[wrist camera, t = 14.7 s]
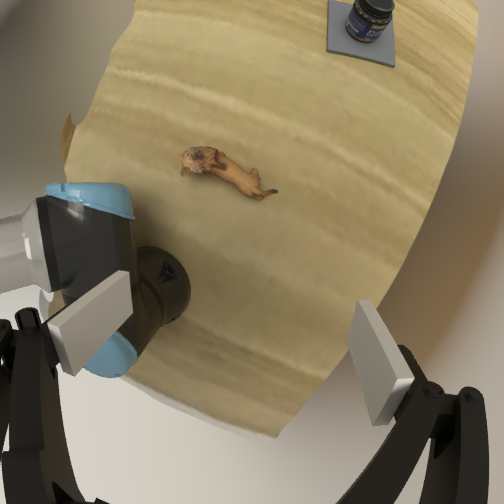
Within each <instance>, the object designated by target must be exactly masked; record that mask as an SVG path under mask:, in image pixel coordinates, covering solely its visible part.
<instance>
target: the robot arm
mask: <svg viewBox="0 0 504 504" xmlns="http://www.w3.org/2000/svg"><path fill="white" fill-rule="evenodd" d="M45 194H46V196H44V197H39V198H34V199H33V200H32V201H31V203H30V204H29V205H28V207H27V208H26V210H25V211H24V212H23V213H22V214H19V215H14V216H10V217H6V218H1V219H0V294H1V293H4V292H7V291H11V290H14V289H18V288H21V287H25V286H28V285H32V284H35V285H38V286H40V287H41V288H42V289H44V290H45V291H47V292H48V293H51V292H54V291H58V290H61V291H62V296H63V300H64V303H65V307H63V308H62V309H61V311H60V310H59V311H58V312H57V313H56V314H54V315H53V316H51V317H50V318H49V319H47V320H46V321H45V322H44V323H42V324H41V320H40V317H39V313H38V310H37V309H36V308H32V307H30V308H29V307H27V308H23V309H21V310H19V311H18V312H17V313H16V314H15V319H16V322H17V326H18V328H19V330H15V329H12V326H11V323H10V321H9V320H6V319H0V462H1V463H2V475H3V483H4V492H5V498H6V504H109V503H107V502H105V501H103V500H100V499H98V498H96V500H95V502H94V503H93V502H86V501H85V499H84V497H83V496H82V494H81V493H80V491H79V489H78V487H77V483H76V481H75V477H74V473H73V469H72V465H71V461H70V457H69V452H68V448H67V443H66V437H65V432H64V426H63V420H62V412H61V405H60V396H59V385H58V372H57V369H56V365H57V364H58V363H59V362H60V364H61V367H62V370H63V372H66V373H68V374H70V375H72V376H76V374H77V373H78V372H79V371H80V370H81V369H82V368H85V369H86V370H88V371H90V372H91V373H93V374H96V375H98V376H101V377H106V378H115V377H120V376H122V375H124V374H125V373H126V372H127V371H128V369H129V368H130V367H131V366H132V365H133V364H135V363H136V362H137V359H138V357H139V356H140V355H141V353H142V352H143V350H144V349H145V347H146V346H147V344H148V343H149V342H150V340H151V339H152V337H153V336H154V334H155V333H156V332H157V330H158V329H159V328H160V327H162V326H164V325H165V324H168V323H170V322H172V321H174V320H175V319H177V318H178V317H179V316H180V315H181V314H182V312H183V311H184V310H185V308H186V306H187V305H188V302H189V299H190V283H189V279H188V276H187V274H186V272H185V270H184V268H183V267H182V265H181V264H180V263H179V262H178V261H177V259H175V258H174V257H173V256H172V255H171V254H169V253H168V252H166V251H164V250H162V249H159V248H155V247H142V248H138V249H137V248H136V236H135V223H134V220H135V216H134V214H133V207H132V197H131V193H130V191H129V189H128V188H127V187H126V186H124V185H122V184H117V183H90V182H87V183H51V184H48V185H47V186H46V190H45ZM346 341H347V344H348V347H349V350H350V353H351V356H352V359H353V362H354V366H355V369H356V372H357V375H358V378H359V382H360V384H361V388H362V392H363V395H364V398H365V402H366V405H367V409H368V412H369V416H370V419H371V423H372V426H379V425H388V424H389V422H390V421H391V419H392V417H393V416H394V417H395V420H396V424H395V425H394V427H393V428H392V430H391V431H390V433H389V434H388V436H387V437H386V439H385V441H384V442H383V444H382V445H381V447H380V448H379V450H378V451H377V453H376V454H375V455H374V457H373V458H372V460H371V461H370V462H369V464H368V465H367V467H366V468H365V469H364V470H363V472H362V473H361V474H360V476H359V477H358V478H357V479H356V481H355V482H354V483H353V484H352V486H351V487H350V488H349V489H348V490H347V491H346V493H345V494H344V495H343V496H342V497H341V499H340V500H339V501H338V502H337V503H336V504H394V502H395V501H396V499H397V497H398V496H399V494H400V493H401V491H402V489H403V488H404V486H405V484H406V482H407V481H408V479H409V477H410V475H411V473H412V472H413V470H414V468H415V466H416V464H417V462H418V460H419V458H420V456H421V454H422V451H423V449H424V447H425V445H426V443H427V441H428V439H429V438H431V444H430V451H429V458H428V464H427V470H426V475H425V480H424V485H423V489H422V493H421V498H420V501H419V504H487V501H488V486H489V445H488V431H487V420H486V412H485V404H484V398H483V395H482V394H481V393H480V391H478V390H477V389H475V388H473V387H464V388H462V389H461V390H460V392H459V394H458V395H452V394H445V393H444V390H443V389H442V388H441V386H440V385H438V384H436V383H434V382H431V381H428V380H427V378H426V377H425V375H424V373H423V372H422V370H421V368H420V366H419V365H418V364H417V361H416V359H414V356H413V355H412V353H411V351H410V350H409V349H408V348H406V347H405V346H404V345H396V343H395V341H394V339H393V338H392V336H391V334H390V333H389V331H388V329H387V327H386V326H385V324H384V322H383V321H382V319H381V317H380V316H379V314H378V313H377V311H376V309H375V307H374V306H373V304H372V303H371V301H370V300H360V299H358V300H357V304H356V308H355V311H354V315H353V319H352V323H351V326H350V330H349V333H348V337H347V340H346ZM1 358H2V360H3V365H1ZM8 424H9V451H3V446H4V441H5V436H6V432H7V428H8ZM2 451H3V453H2Z"/></svg>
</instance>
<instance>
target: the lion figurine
mask: <svg viewBox="0 0 504 504" xmlns="http://www.w3.org/2000/svg"><path fill="white" fill-rule="evenodd" d="M179 159H181V162H182V169H181V175H182V176H183V177H185V176H189V175H190V173H192V172H195V173H198V174H200V173H204V174H208V173H209V174H211V175H217V176H219V177H220V178H222V179H223V180H226V181H228V182H230V183H233V184H235V185H236V186H237V187H238V188H239V190H240V191H241V192H242V193H243V194H245V195H246V196H248V197H254V198H256V199H257V200H262V199H263V198H264V196H265V195H267V194H270V193H278V190H275V189H271V190H268V191H265V192H262V191H260V190H259V189H258V187H259V180H260V177H259V173H258V171H257V169H252V170H251V172H250V173H246V172H244V171H243V170H242V168H241V167H240V166H238V165H237V164H236V163H234V162H233V161H232V160H230V159H228V158H226V157H225V154H224V153H223V152H219V151H218V150H217V149H215V148H211V147H207V146H206V147H202V146H201V147H197V148H196V147H192V148H191V147H190V148H189V149H188V150H185V151H184V153H183V154H182V155H181V156H179Z"/></svg>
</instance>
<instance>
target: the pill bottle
mask: <svg viewBox="0 0 504 504" xmlns="http://www.w3.org/2000/svg"><path fill="white" fill-rule="evenodd" d="M394 7H395V4H394V2H393V0H355V2H354V4H353V7H352V9H351V11H350V13H349V16H348V18H347V20H346V30H347V31H348V33H349V34H350V35H351V36H352V37H353V38H354V39H356V40H358V41H360V42H364V43H371V42H374V41H375V40H377V38H378V37H379V36H380V35H381V33H382V32H383V31H384V29H385V28H386V27H387V25H388V24H389V23H390V21H391V20H392V11H393V9H394Z"/></svg>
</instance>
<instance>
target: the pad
mask: <svg viewBox="0 0 504 504" xmlns="http://www.w3.org/2000/svg"><path fill="white" fill-rule="evenodd" d="M352 7H353V4H348V3H343V2H338V1H333V0H328V32H327V52H331V53H337V54H342V55H347V56H351V57H356V58H360V59H364V60H368V61H372V62H376V63H379V64H383V65H386V66H390V67H394V66H395V47H394V32H393V20H391V21H390V23H389V24H388V25H387V27H386V28H385V29H384V31H383V32H382V33H381V35H380V36H379V37H378V38H377V40H375V41H374V42H371V43H364V42H360V41H358V40H356V39H354V38H353V37H352V36H351V35H350V34H349V33H348V31H347V30H346V20H347V18H348V16H349V13H350V11H351V9H352Z"/></svg>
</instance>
